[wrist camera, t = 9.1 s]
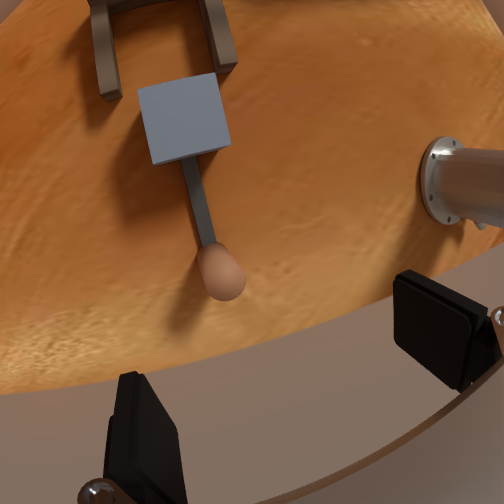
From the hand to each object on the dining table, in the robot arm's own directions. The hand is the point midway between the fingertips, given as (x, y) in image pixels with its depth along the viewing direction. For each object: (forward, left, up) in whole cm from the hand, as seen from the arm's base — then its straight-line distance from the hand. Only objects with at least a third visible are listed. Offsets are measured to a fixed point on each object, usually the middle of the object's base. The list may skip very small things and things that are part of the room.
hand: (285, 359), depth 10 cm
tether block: (+3, -3, -21) cm, 22 cm away
